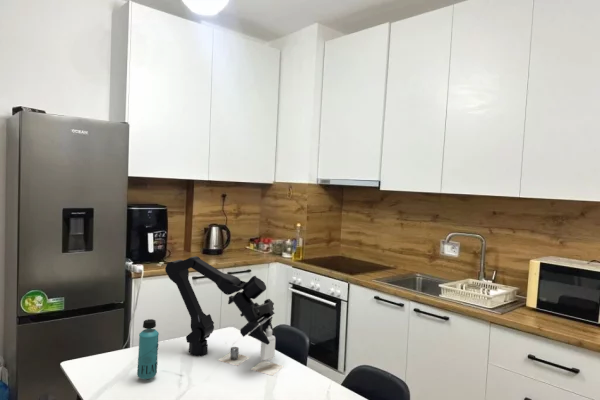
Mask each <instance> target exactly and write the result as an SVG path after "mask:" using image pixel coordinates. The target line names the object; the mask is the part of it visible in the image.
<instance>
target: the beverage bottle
mask: <svg viewBox="0 0 600 400" xmlns="http://www.w3.org/2000/svg"><path fill="white" fill-rule="evenodd" d="M156 322H157V321H156V320H155V319H153V318H152V319H149V318H148V319H145V320H143V322H142V323H143V324H142V328H143V330H142V331H140V332H139V337H138V356H137V367H136V368H137V372H136V375H137V377H138V379H141V380H149V379H152V378H154V377H156V376H157V371H158V362H159V360H158V354H159V353H158V352H159V346H160V345H159V335H160V333H159V331H158V330H156V329H155V328H156V326H157V323H156Z"/></svg>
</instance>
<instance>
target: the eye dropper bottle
mask: <svg viewBox="0 0 600 400" xmlns="http://www.w3.org/2000/svg"><path fill="white" fill-rule="evenodd" d="M265 335H266V336H267V338H268V340H269V342H270V343H269V344H268V345H267V344H265V343H263V342H262V341H260V354H259V355H260V356H259V359H260V360H261V361H271V360H272V359H275V355H276V354H275V353H276V351H275V350H276V338H275V336H276V335H275V336H273V335H272V329H271V327H270V326H268V329H266V333H265Z"/></svg>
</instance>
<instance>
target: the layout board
mask: <svg viewBox="0 0 600 400" xmlns="http://www.w3.org/2000/svg"><path fill="white" fill-rule="evenodd" d="M230 354H231V351H230V352H229V353H227V354H226V355H224V356H222V357H220V358H219V359H217V361H219V362H223V363H226V364H230V365H233V366H237V367H238V366H240V365H241V364H243V363H244V362H246V361H247V360H249V359H250V358H251V356H247V355H243V354H239V353H238V360H231V359H230ZM282 368H284V365H282V364H278V363H275V362H270V361H268V360H266V361H264V360H261V361H259V363H257V364H256V365H255V366H253V367H252V368H250V371H255V372H258V373H262V374H265V375H269V376H274V375H275V374H277V372H279V371H280V370H281V369H282Z"/></svg>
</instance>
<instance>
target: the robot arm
mask: <svg viewBox="0 0 600 400" xmlns="http://www.w3.org/2000/svg"><path fill="white" fill-rule="evenodd" d="M189 269H193V270H194V271H196V272H197V273H199V274H201V275H202V276H204V278H206V279H208V280H210V281H211V282H213V283H214V284H215V285H216V287H217V288H218V289H219V290H220V291H221V292H222V294H224V295H227V296H228V300H227V301H228V302H227V304H228V305H231V304H233V303H234V305H235V306H236V307H237V309H238V310H239V312H240V317H241V318H242V317H244V318H245V320H246V321H247V323H246V324H245V325H244V326H242V327H241V328H240V331H239V332H240V335H241V337H242V338H244V337H246V336H247V337H252V338H255V339H257V340H258V341H259V342H261V341H262V342H263V343H265V344H267V345H268V344H269V343H270V342H269V340H268V338H267V336H266V329H268V326H270V327H271V329H272V335H273V336H275V339H276V338H277V336H276V333H275V331H274V328H273V325H272V321H273V316H274V315H275V311H274V310H275V307H274V305H275V303H274V302H273V301H272V300H271V299H270V298H267V299H264V302H263V303H262V304H259V303H258V302H255V303H254V301H253V300H255V299H257V298H258V297H259V296H261V294H263V293H264V292H265V291H266V290H267V286H266V285H267V284H266V283H265V282H264V281H263V280H261V278H259V277H257V276H256V275H253V276H252V277H251V278H250V279H249V280H247V281H243V280H241V278H239V277H237V276H235V275H232V274H229V273H224V272H222V271H220V270H219V269H217V268H216V267H214V266H213V265H211V264H209V263H208V262H206V261H205V260H203V259H201V257H199V256H197V255H195V256H191V257H189V258H186V259H177V260H172V261H169V262H168V263H166V265H165V269H164V271H165V273H166V275H167V277H168V278H169V279H170V281H172V282H173V283H174V284H175V285H176V287H177V289H178V291H179V293H180V296H181V298H182V301H183V302H184V303H183V304H184V305H185V307H186V311H187V312H188V315H189V316H190V329H191V332H190V333H189V334H188V335H186V336H185V340H186V343H188V353H189V354H190V355H191V356H193V357H204V356H206V355H208V340H207V339H208V338H210V336H211V334H212V333H214V332H213V331H214V329H215V325H214V324H215V322H214V321H213V318H212V316H211V314H210V313H208V314H206V313H205V312H204V311H203V309H202V307H201V305H200V303H199V300H198V298H197V296H196V294H195V291H194V289H193V287H192V283H191V282H190V280H189V279H190V278H189V275H190V272H189V271H190V270H189ZM232 294H234V295H232ZM229 295H230V296H229Z"/></svg>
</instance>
